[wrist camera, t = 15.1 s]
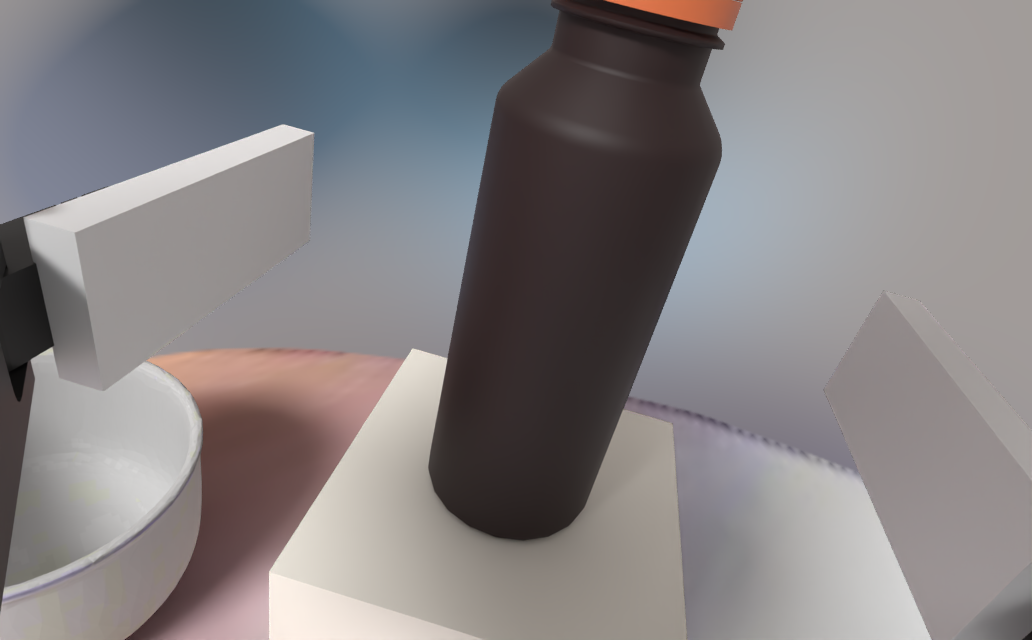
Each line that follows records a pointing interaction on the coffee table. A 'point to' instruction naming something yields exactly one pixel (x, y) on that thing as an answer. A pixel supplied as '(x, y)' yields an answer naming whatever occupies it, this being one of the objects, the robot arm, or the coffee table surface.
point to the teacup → (102, 505)
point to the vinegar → (573, 256)
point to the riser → (479, 544)
